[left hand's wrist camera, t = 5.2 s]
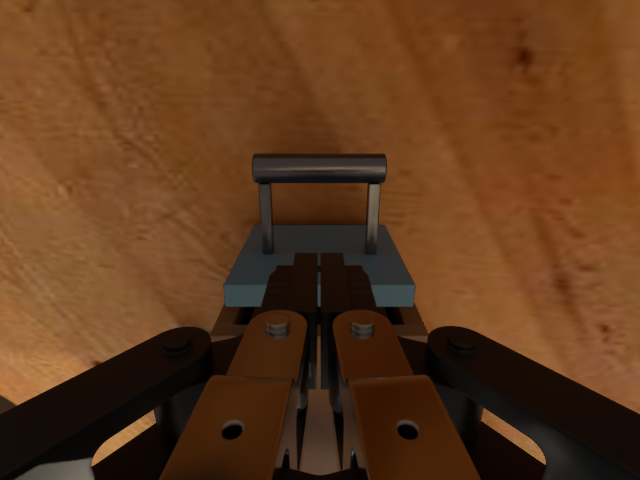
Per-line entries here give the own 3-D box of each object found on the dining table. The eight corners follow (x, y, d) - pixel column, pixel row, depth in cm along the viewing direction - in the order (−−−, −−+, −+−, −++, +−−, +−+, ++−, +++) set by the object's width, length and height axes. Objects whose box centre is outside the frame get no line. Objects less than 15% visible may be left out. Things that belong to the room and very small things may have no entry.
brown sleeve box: (249, 247, 27) (208, 335, 17) (389, 247, 27) (430, 336, 17) (265, 463, 35) (243, 611, 25) (373, 463, 35) (395, 611, 25)
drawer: (248, 142, 23) (210, 167, 15) (390, 142, 23) (428, 167, 15) (269, 446, 33) (252, 563, 25) (370, 446, 33) (387, 562, 25)
